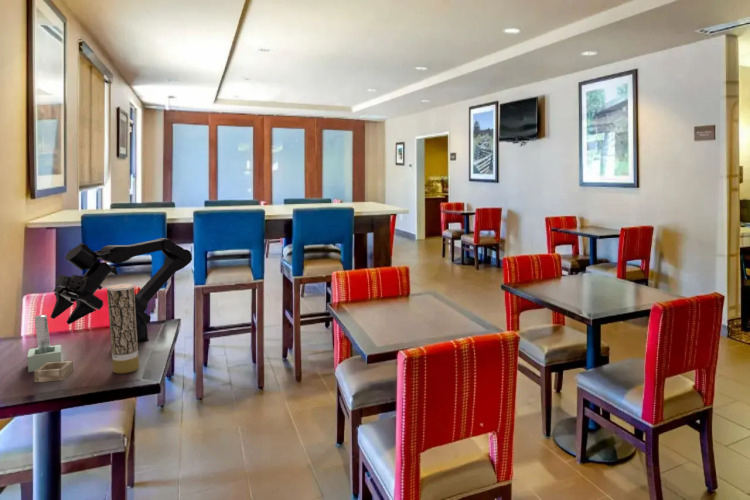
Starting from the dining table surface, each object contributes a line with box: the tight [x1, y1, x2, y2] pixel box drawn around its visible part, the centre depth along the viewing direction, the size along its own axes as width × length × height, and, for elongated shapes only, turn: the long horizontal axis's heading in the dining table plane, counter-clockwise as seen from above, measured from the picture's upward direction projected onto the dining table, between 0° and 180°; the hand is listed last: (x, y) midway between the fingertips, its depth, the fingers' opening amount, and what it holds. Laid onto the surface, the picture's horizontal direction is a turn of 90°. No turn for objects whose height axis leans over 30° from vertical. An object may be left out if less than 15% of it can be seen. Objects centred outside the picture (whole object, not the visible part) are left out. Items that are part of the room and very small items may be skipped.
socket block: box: [26, 344, 63, 373], centre depth 142 cm, size 8×8×4 cm
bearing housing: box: [33, 360, 74, 383], centre depth 134 cm, size 7×7×3 cm
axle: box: [34, 314, 51, 354], centre depth 141 cm, size 3×3×14 cm
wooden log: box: [106, 283, 140, 375], centre depth 137 cm, size 7×7×25 cm
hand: (59, 320), depth 145 cm, fingers open, 9 cm apart
